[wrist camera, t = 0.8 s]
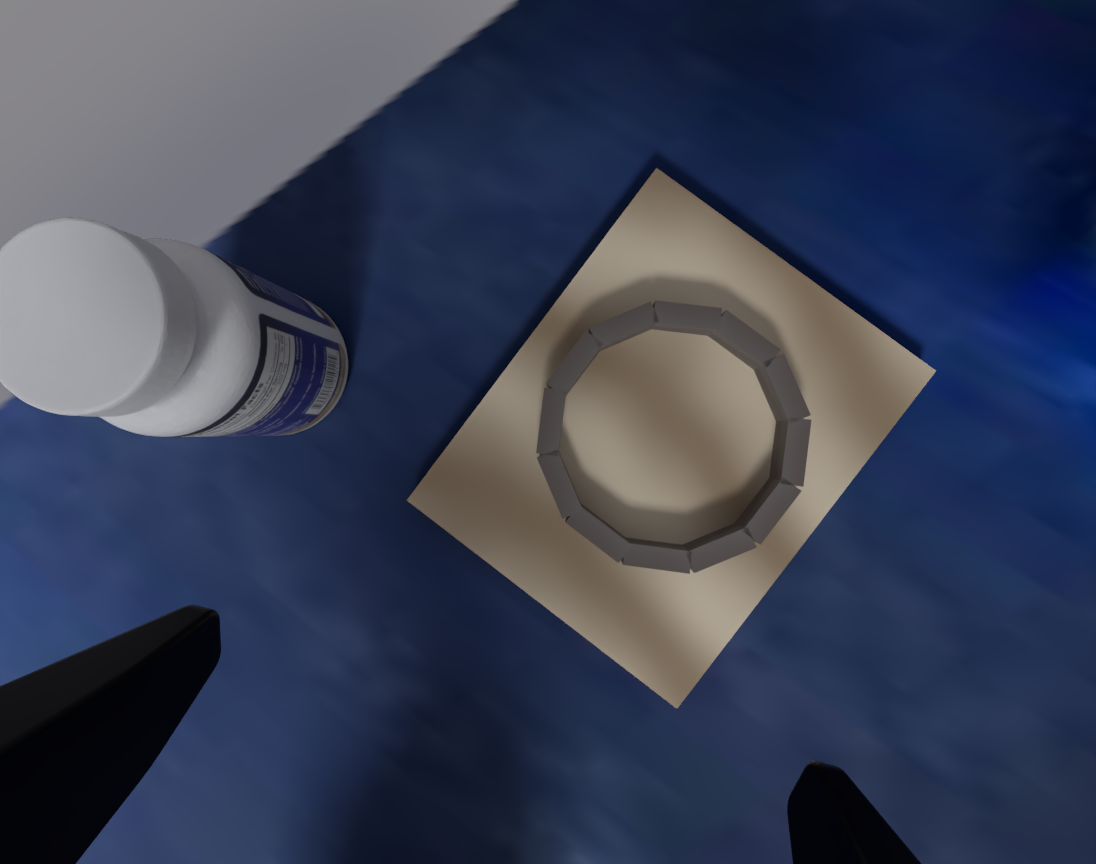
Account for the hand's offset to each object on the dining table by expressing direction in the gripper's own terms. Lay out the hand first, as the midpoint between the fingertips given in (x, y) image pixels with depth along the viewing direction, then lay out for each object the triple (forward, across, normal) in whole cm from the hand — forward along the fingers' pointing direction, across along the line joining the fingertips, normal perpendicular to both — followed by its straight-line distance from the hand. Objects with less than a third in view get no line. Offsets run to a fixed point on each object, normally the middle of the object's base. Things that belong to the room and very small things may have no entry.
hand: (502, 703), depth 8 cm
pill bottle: (+15, +12, +2) cm, 19 cm away
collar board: (+15, -4, +1) cm, 15 cm away
